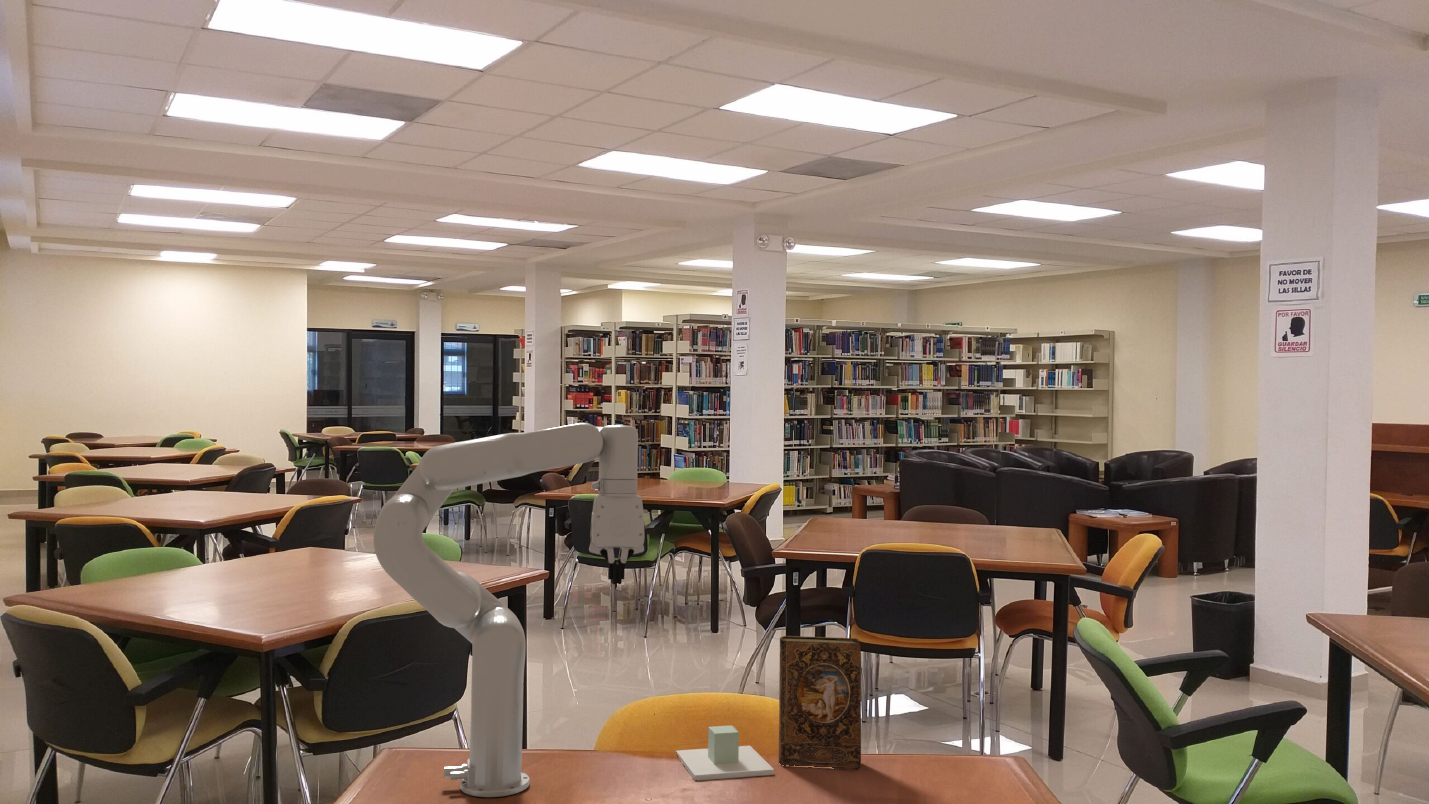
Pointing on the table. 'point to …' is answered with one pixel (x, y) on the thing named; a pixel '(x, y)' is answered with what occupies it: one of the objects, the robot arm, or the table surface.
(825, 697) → the book
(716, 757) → the block
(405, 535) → the robot arm
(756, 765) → the pale board
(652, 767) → the table surface
